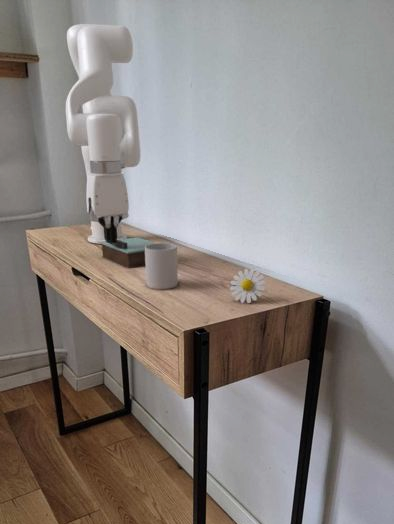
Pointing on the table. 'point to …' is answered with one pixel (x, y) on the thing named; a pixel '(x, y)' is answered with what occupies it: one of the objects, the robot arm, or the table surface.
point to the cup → (161, 265)
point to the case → (124, 257)
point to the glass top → (129, 245)
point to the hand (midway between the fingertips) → (111, 242)
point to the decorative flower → (247, 285)
